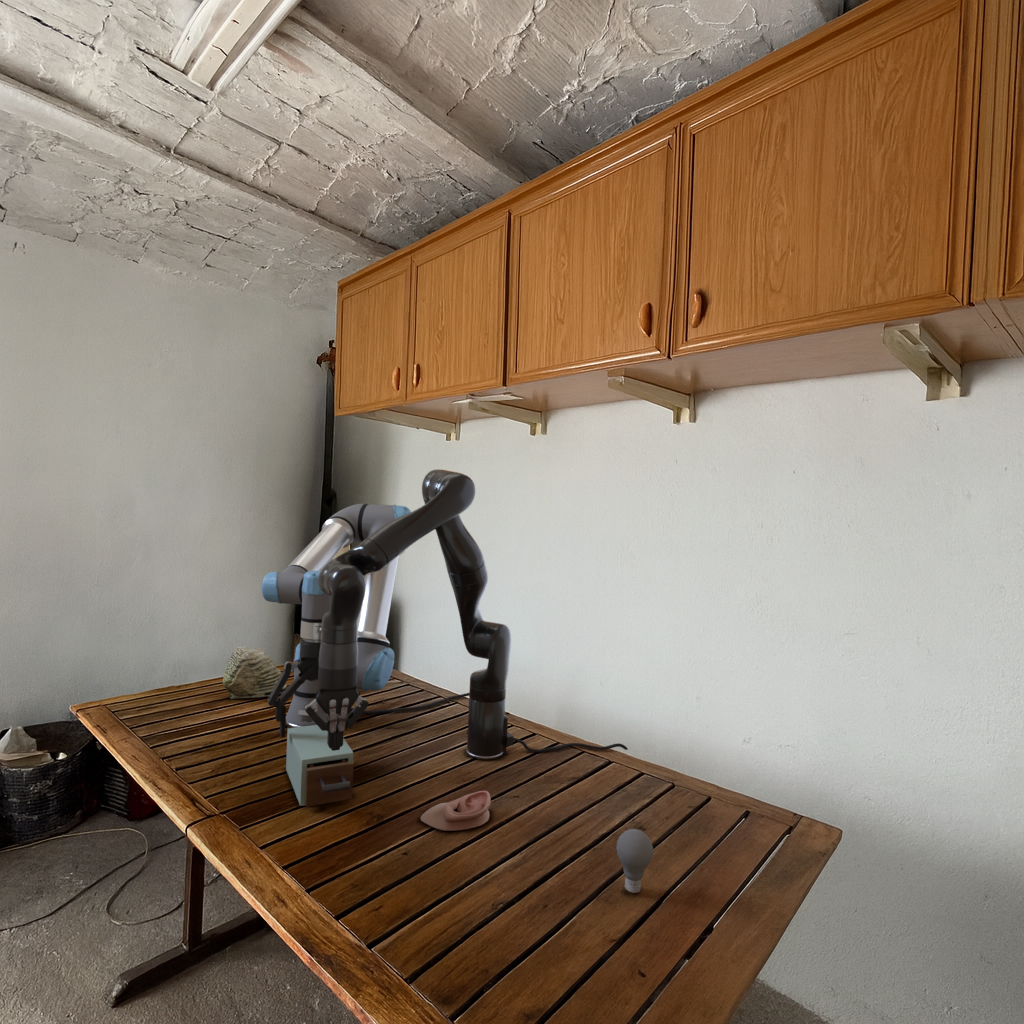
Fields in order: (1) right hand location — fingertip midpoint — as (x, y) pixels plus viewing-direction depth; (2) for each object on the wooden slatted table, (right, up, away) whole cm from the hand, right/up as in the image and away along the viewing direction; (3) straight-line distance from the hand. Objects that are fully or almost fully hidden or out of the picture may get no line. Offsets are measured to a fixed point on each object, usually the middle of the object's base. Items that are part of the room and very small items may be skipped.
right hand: (335, 748), depth 127 cm
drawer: (-5, -12, +8) cm, 15 cm away
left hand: (-10, -3, +18) cm, 21 cm away
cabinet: (-8, -13, +14) cm, 20 cm away
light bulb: (+56, -16, -21) cm, 62 cm away
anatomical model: (+24, -14, +1) cm, 28 cm away
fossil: (-45, -10, +71) cm, 85 cm away
